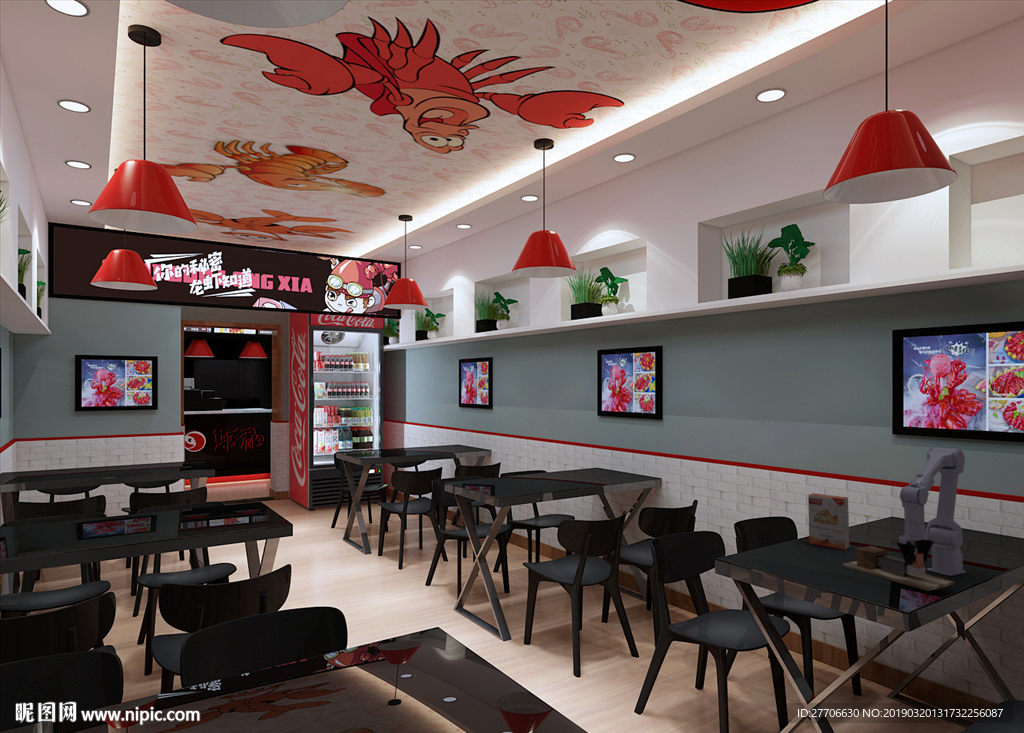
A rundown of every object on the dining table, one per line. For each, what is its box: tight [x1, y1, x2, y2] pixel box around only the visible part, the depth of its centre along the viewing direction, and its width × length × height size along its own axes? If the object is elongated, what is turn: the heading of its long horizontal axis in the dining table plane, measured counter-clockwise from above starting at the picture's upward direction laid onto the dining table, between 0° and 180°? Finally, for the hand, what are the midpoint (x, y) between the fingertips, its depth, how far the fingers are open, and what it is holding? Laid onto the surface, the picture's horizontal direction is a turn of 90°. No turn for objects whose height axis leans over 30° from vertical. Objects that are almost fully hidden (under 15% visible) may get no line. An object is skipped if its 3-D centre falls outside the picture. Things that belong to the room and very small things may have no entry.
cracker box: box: [807, 492, 850, 551], centre depth 250 cm, size 14×6×21 cm, turn 45°
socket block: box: [856, 545, 888, 569], centre depth 219 cm, size 8×6×6 cm
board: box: [842, 560, 955, 592], centre depth 211 cm, size 14×30×1 cm, turn 25°
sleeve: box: [881, 554, 910, 577], centre depth 211 cm, size 5×8×5 cm, turn 25°
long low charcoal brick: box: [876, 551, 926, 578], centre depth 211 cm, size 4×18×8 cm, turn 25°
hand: (915, 562), depth 205 cm, fingers open, 7 cm apart
